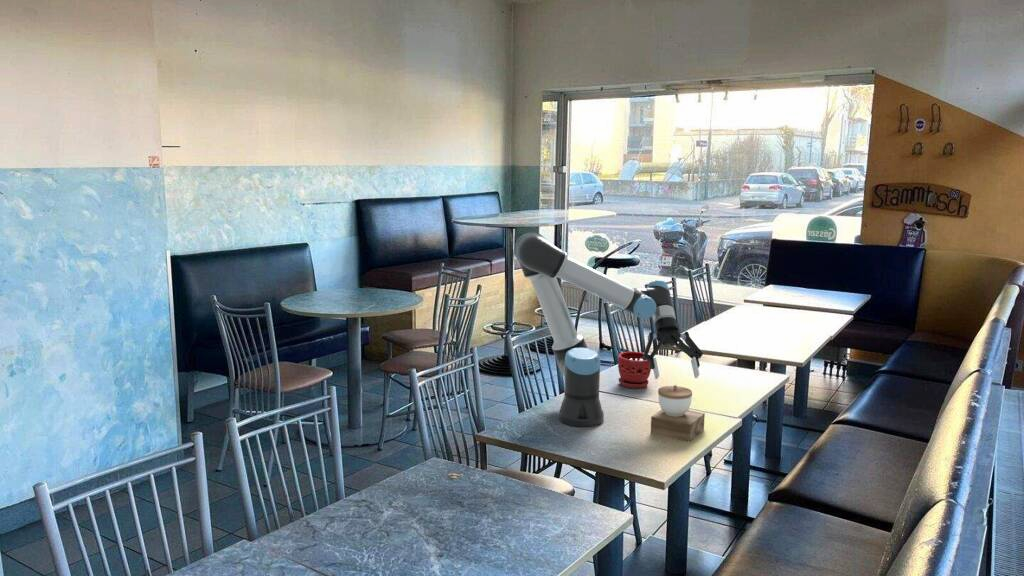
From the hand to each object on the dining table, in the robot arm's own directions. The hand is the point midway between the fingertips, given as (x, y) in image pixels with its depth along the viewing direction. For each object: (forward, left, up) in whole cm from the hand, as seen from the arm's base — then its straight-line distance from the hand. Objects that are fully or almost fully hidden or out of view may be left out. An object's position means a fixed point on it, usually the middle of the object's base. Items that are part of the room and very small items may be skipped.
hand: (677, 376), depth 239 cm
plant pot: (+26, +37, -17) cm, 48 cm away
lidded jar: (-4, -2, -11) cm, 12 cm away
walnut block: (-4, -4, -17) cm, 18 cm away
